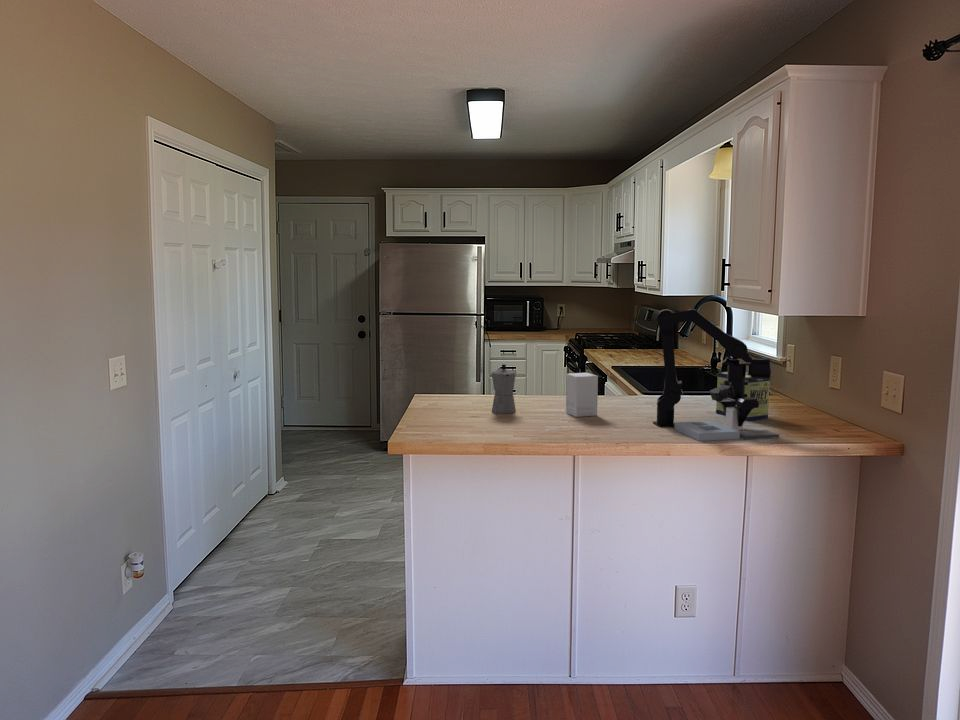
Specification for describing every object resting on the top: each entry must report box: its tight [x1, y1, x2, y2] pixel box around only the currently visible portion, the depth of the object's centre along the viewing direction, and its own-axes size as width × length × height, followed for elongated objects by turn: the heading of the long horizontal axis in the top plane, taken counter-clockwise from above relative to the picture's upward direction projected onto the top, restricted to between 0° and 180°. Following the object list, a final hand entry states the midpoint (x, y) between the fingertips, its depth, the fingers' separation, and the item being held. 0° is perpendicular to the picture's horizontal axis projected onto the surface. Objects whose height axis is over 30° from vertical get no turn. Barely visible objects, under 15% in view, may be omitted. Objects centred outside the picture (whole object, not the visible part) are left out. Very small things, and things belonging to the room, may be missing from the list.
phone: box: [739, 429, 780, 440], centre depth 221 cm, size 6×12×1 cm, turn 101°
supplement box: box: [565, 372, 599, 418], centre depth 254 cm, size 9×9×15 cm
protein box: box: [715, 371, 771, 422], centre depth 251 cm, size 10×16×16 cm
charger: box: [725, 407, 744, 431], centre depth 231 cm, size 4×4×7 cm
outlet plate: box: [674, 420, 741, 442], centre depth 224 cm, size 16×14×2 cm
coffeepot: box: [491, 364, 517, 415], centre depth 261 cm, size 15×9×18 cm, turn 11°
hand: (734, 424), depth 231 cm, fingers open, 6 cm apart
